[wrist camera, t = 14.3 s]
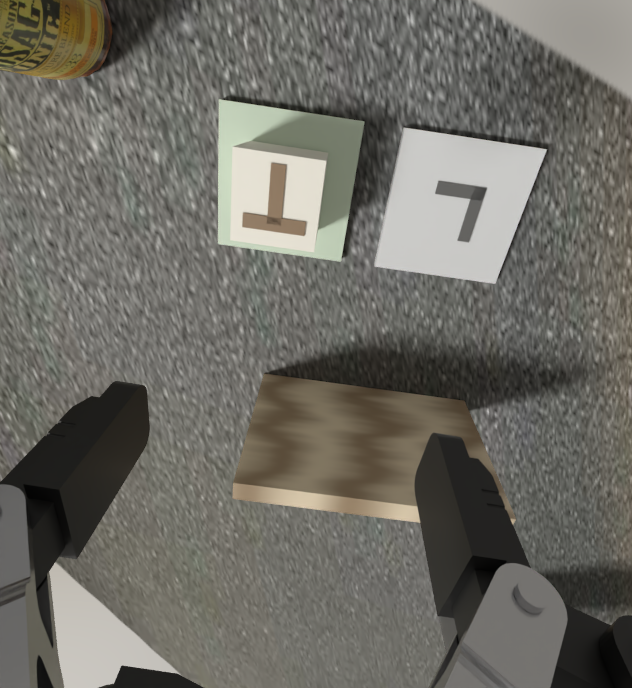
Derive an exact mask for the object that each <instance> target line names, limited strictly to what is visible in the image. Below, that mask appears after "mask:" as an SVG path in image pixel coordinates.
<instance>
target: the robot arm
mask: <svg viewBox="0 0 632 688" xmlns="http://www.w3.org/2000/svg"><path fill="white" fill-rule="evenodd" d="M149 430H150V425H149V412H148V399H147V390H146V387H145V386H144V385H139V384H132V383H126V382H120V381H115V382H113V383H112V384H111V385H110V386H109V387H108V388H107V390H106V391H105V392H104V393H103V394H102V395H101V396H100V398H99V397H93V396H91V397H89V398H87V399H86V400H84V401H82V402H80V403H79V404H77V405H75V406H73V407H72V408H71V409H70V410H69V411H68V412H67V413H66V414H65V415H64V416H63V417H62V418H61V419H60V420H59V423H58V424H56V425H55V426H54V427H53V428H52V429H51V430H50V431H49V432H48V433H47V436H44V437H43V438H42V439H41V440H40V441H39V442H38V443H37V445H36V446H35V447H34V448H33V449H32V450H31V451H30V452H29V453H28V454H27V455H26V456H25V457H24V458H23V459H22V460H21V461H20V462H19V463H18V464H17V466H16V467H15V468H14V469H13V470H12V471H11V472H10V473H9V474H8V475H7V476H6V477H5V478H4V479H3V480H2V481H1V482H0V688H64V684H63V678H62V673H61V669H60V664H59V658H58V650H57V640H56V631H55V621H54V611H53V601H52V592H51V582H50V575H49V571H50V569H51V568H52V566H53V565H54V563H55V562H56V560H57V559H58V557H66V558H72V559H77V558H78V556H79V555H80V553H81V552H82V550H83V548H84V547H85V545H86V543H87V542H88V540H89V538H90V537H91V535H92V534H93V532H94V530H95V529H96V527H97V525H98V524H99V522H100V520H101V519H102V517H103V516H104V514H105V512H106V511H107V509H108V507H109V506H110V504H111V503H112V501H113V499H114V498H115V496H116V494H117V493H118V491H119V489H120V488H121V486H122V485H123V483H124V481H125V480H126V478H127V476H128V475H129V473H130V471H131V470H132V468H133V467H134V465H135V463H136V462H137V460H138V458H139V457H140V455H141V453H142V452H143V450H144V448H145V446H146V444H147V441H148V437H149ZM414 488H415V497H416V502H417V507H418V513H419V518H420V524H421V529H422V534H423V540H424V545H425V551H426V556H427V561H428V567H429V572H430V578H431V583H432V588H433V594H434V599H435V605H436V610H437V615H438V616H439V621H440V625H441V630H442V635H443V640H444V645H445V650H446V654H445V656H444V658H443V660H442V662H441V664H440V666H439V668H438V670H437V672H436V674H435V676H434V678H433V680H432V682H431V684H430V686H429V688H632V616H629V615H628V616H622V617H619V618H618V619H617V620H616V621H615V622H614V623H613V624H612V625H609V624H606V623H604V622H602V621H600V620H598V619H596V618H594V617H591V616H589V615H587V614H585V613H583V612H581V611H578V610H576V609H574V608H572V607H570V606H568V605H566V604H565V603H564V602H563V600H562V598H561V596H560V595H559V593H558V592H557V590H556V589H555V588H554V587H553V585H552V584H551V583H550V582H549V581H548V580H547V579H546V578H545V577H543V576H542V575H541V574H539V573H538V572H536V571H535V570H533V569H531V567H530V565H529V563H528V560H527V558H526V556H525V553H524V551H523V548H522V546H521V544H520V541H519V539H518V536H517V534H516V531H515V529H514V527H513V524H512V522H511V519H510V517H509V514H508V512H507V510H505V505H504V502H503V500H502V498H501V495H499V490H498V488H497V485H496V483H495V481H494V478H493V476H492V474H491V473H490V472H489V471H488V469H487V468H486V467H485V466H484V465H483V463H482V462H481V461H480V460H479V459H477V458H470V457H469V454H468V452H467V449H466V446H465V444H464V441H463V439H462V438H461V437H458V436H452V435H446V434H439V433H432V434H431V436H430V438H429V440H428V443H427V445H426V448H425V450H424V453H423V456H422V458H421V461H420V463H419V466H418V468H417V471H416V475H415V485H414ZM99 688H203V687H201V686H200V685H198V684H196V683H194V682H192V681H190V680H188V679H186V678H184V677H182V676H181V675H179V674H175V673H169V672H162V671H155V670H148V669H141V668H135V667H128V666H121V668H120V671H119V673H118V676H117V678H116V680H115V683H114V684H110V685H105V686H102V687H99Z"/></svg>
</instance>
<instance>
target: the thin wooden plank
mask: <svg viewBox="0 0 632 688" xmlns="http://www.w3.org/2000/svg"><path fill="white" fill-rule="evenodd" d="M432 433H439V434H446V435H452V436H458V437H461V438H462V439H463V441H464V444H465V446H466V449H467V452H468V454H469V457H470V458H477V459H479V460H480V461H481V462H482V463H483V465H484V466H485V467H486V468H487V469H488V471H489V472H490V473H491V474H492V476H493V478H494V481H495V483H496V485H497V488H498V490H499V495H501V498H502V500H503V502H504V505H505V510H507V512H508V514H509V517H510V519H511V522H512V524H514V522H515V520H516V518H515V515H514V513H513V511H512V508H511V506H510V504H509V502H508V499H507V497H506V495H505V492H504V490H503V488H502V486H501V483H500V481H499V479H498V476H497V474H496V472H495V470H494V467H493V465H492V463H491V460H490V458H489V456H488V454H487V451H486V449H485V447H484V444H483V442H482V440H481V438H480V435H479V433H478V431H477V428H476V426H475V424H474V422H473V419H472V417H471V415H470V412H469V410H468V408H467V406H466V403H465V401H463V400H456V399H448V398H441V397H434V396H426V395H419V394H411V393H404V392H397V391H389V390H382V389H375V388H367V387H360V386H353V385H345V384H338V383H330V382H323V381H316V380H308V379H301V378H294V377H286V376H279V375H272V374H264V376H263V379H262V383H261V386H260V390H259V394H258V397H257V401H256V404H255V408H254V411H253V415H252V418H251V422H250V425H249V429H248V432H247V436H246V440H245V443H244V447H243V450H242V454H241V457H240V461H239V464H238V468H237V471H236V475H235V479H234V482H233V499H239V500H247V501H255V502H262V503H270V504H278V505H286V506H294V507H302V508H309V509H317V510H325V511H333V512H341V513H349V514H356V515H364V516H372V517H380V518H388V519H396V520H403V521H411V522H419V523H420V518H419V513H418V507H417V502H416V497H415V488H414V485H415V475H416V471H417V468H418V466H419V463H420V461H421V458H422V456H423V453H424V450H425V448H426V445H427V443H428V440H429V438H430V436H431V434H432Z"/></svg>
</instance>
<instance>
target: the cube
mask: <svg viewBox="0 0 632 688" xmlns="http://www.w3.org/2000/svg"><path fill="white" fill-rule="evenodd" d="M327 159H328V152H321V151H315V150H308V149H302V148H295V147H288V146H282V145H275V144H269V143H262V142H256V141H248V142H245V143H242V144H239V145H236V146H233V147H232V185H231V226H230V240H232V241H239V242H246V243H253V244H259V245H266V246H273V247H280V248H287V249H294V250H301V251H307V252H314V250H315V245H316V239H317V233H318V226H319V219H320V211H321V204H322V196H323V189H324V182H325V174H326V167H327Z"/></svg>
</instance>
